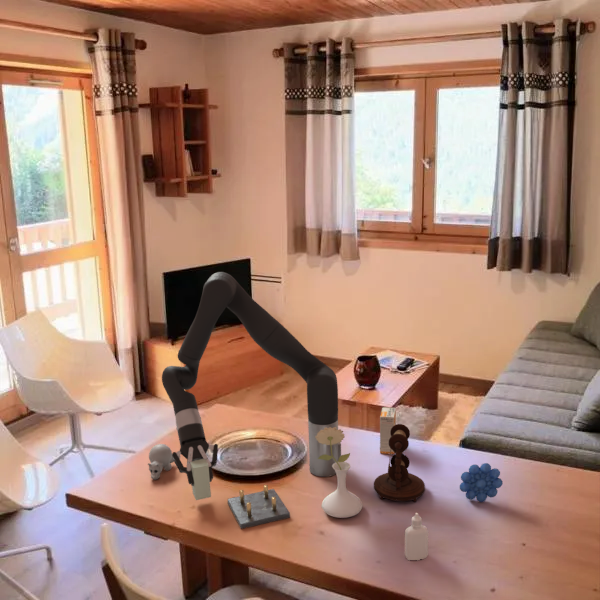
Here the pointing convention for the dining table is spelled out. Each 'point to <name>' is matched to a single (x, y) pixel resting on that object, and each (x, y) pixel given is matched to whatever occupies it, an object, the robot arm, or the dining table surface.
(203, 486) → the block
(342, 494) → the flower in vase
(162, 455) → the round bodied animal figurine
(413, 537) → the eye dropper bottle
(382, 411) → the supplement box
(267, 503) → the grey gold peg board
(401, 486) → the wooden spool stand
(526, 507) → the dining table surface
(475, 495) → the blue ball cluster
